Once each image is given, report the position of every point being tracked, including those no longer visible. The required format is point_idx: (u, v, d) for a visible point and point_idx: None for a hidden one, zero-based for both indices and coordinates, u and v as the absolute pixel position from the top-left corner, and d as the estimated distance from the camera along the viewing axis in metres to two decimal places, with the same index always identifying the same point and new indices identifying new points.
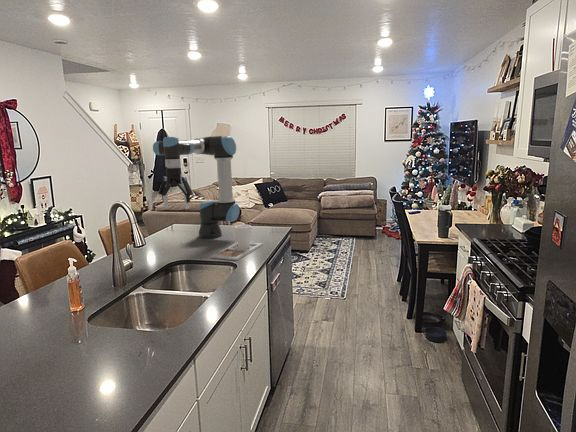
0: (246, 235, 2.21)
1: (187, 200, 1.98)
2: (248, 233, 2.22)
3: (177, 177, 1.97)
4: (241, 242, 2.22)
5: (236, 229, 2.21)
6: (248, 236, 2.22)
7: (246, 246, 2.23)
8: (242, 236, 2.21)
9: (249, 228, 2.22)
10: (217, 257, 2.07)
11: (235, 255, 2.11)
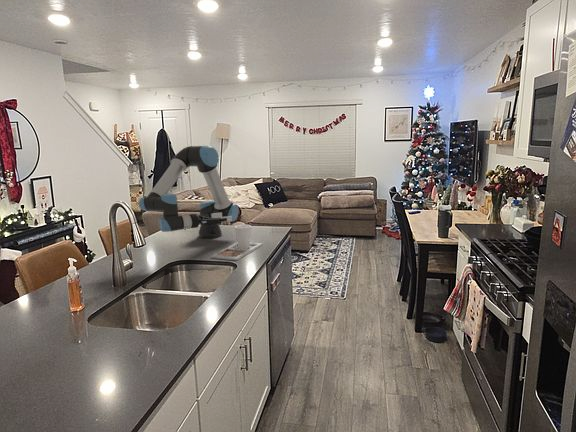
0: (246, 235, 2.21)
1: (224, 220, 2.09)
2: (248, 233, 2.22)
3: None
4: (241, 242, 2.22)
5: (236, 229, 2.21)
6: (248, 236, 2.22)
7: (246, 246, 2.23)
8: (242, 236, 2.21)
9: (249, 228, 2.22)
10: (217, 257, 2.07)
11: (235, 255, 2.11)
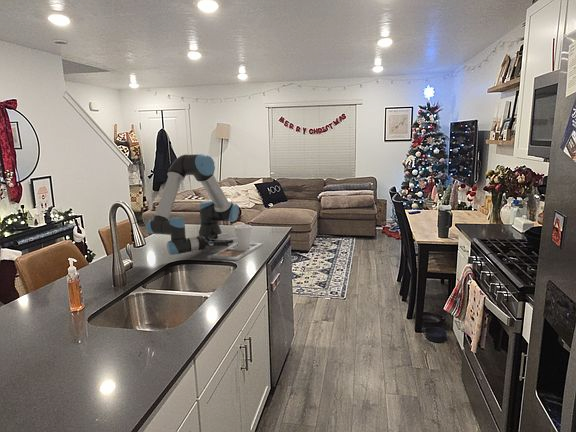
0: (246, 235, 2.21)
1: (231, 242, 2.12)
2: (248, 233, 2.22)
3: None
4: (241, 242, 2.22)
5: (236, 229, 2.21)
6: (248, 236, 2.22)
7: (246, 246, 2.23)
8: (242, 236, 2.21)
9: (249, 228, 2.22)
10: (217, 257, 2.07)
11: (235, 255, 2.11)
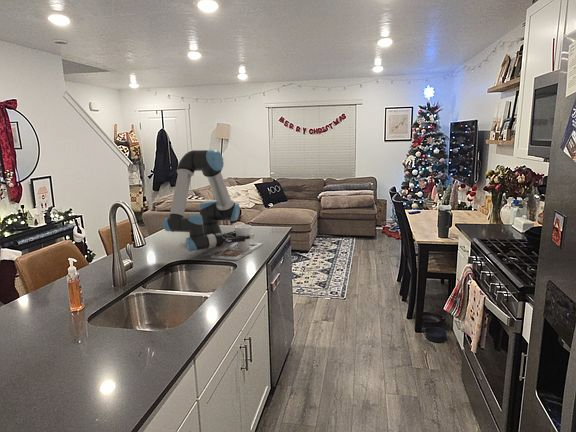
0: None
1: (248, 238, 2.20)
2: (248, 233, 2.22)
3: (224, 241, 2.16)
4: (241, 242, 2.22)
5: (236, 229, 2.21)
6: None
7: (246, 246, 2.23)
8: None
9: (249, 228, 2.22)
10: (217, 257, 2.07)
11: (235, 255, 2.11)
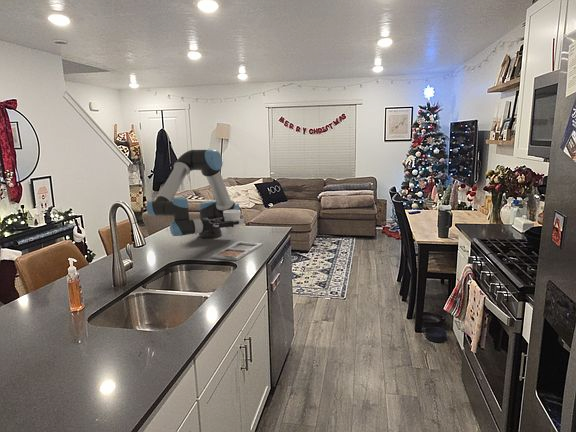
0: None
1: (237, 224, 2.07)
2: (237, 218, 2.09)
3: (212, 227, 2.03)
4: (230, 228, 2.09)
5: (224, 214, 2.08)
6: None
7: (235, 232, 2.10)
8: None
9: (238, 213, 2.09)
10: (217, 257, 2.07)
11: (235, 255, 2.11)
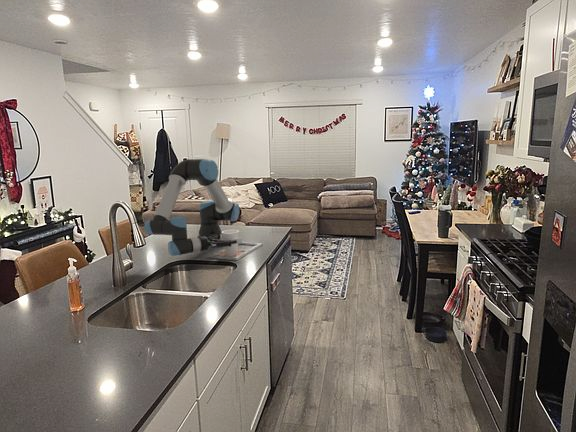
0: None
1: (234, 243, 2.04)
2: None
3: (210, 245, 2.02)
4: (228, 248, 2.09)
5: (223, 235, 2.08)
6: None
7: (233, 253, 2.10)
8: None
9: (237, 234, 2.08)
10: (217, 257, 2.07)
11: (235, 255, 2.11)
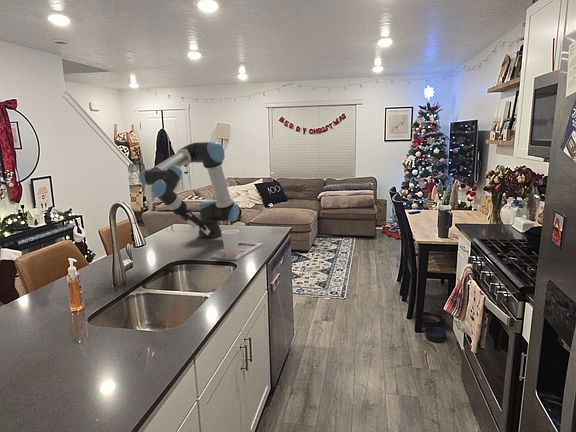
0: (233, 241, 2.08)
1: (203, 229, 2.00)
2: (235, 239, 2.09)
3: (184, 214, 1.95)
4: (228, 248, 2.09)
5: (223, 235, 2.08)
6: (235, 242, 2.09)
7: (233, 253, 2.10)
8: (228, 242, 2.07)
9: (236, 234, 2.08)
10: (217, 257, 2.07)
11: (235, 255, 2.11)
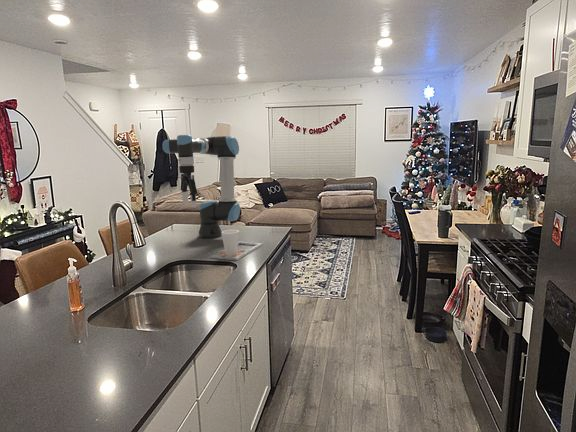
0: (233, 241, 2.08)
1: (192, 198, 1.98)
2: (235, 239, 2.09)
3: (187, 175, 1.99)
4: (228, 248, 2.09)
5: (223, 235, 2.08)
6: (235, 242, 2.09)
7: (233, 253, 2.10)
8: (229, 242, 2.07)
9: (237, 234, 2.08)
10: (217, 257, 2.07)
11: (235, 255, 2.11)
